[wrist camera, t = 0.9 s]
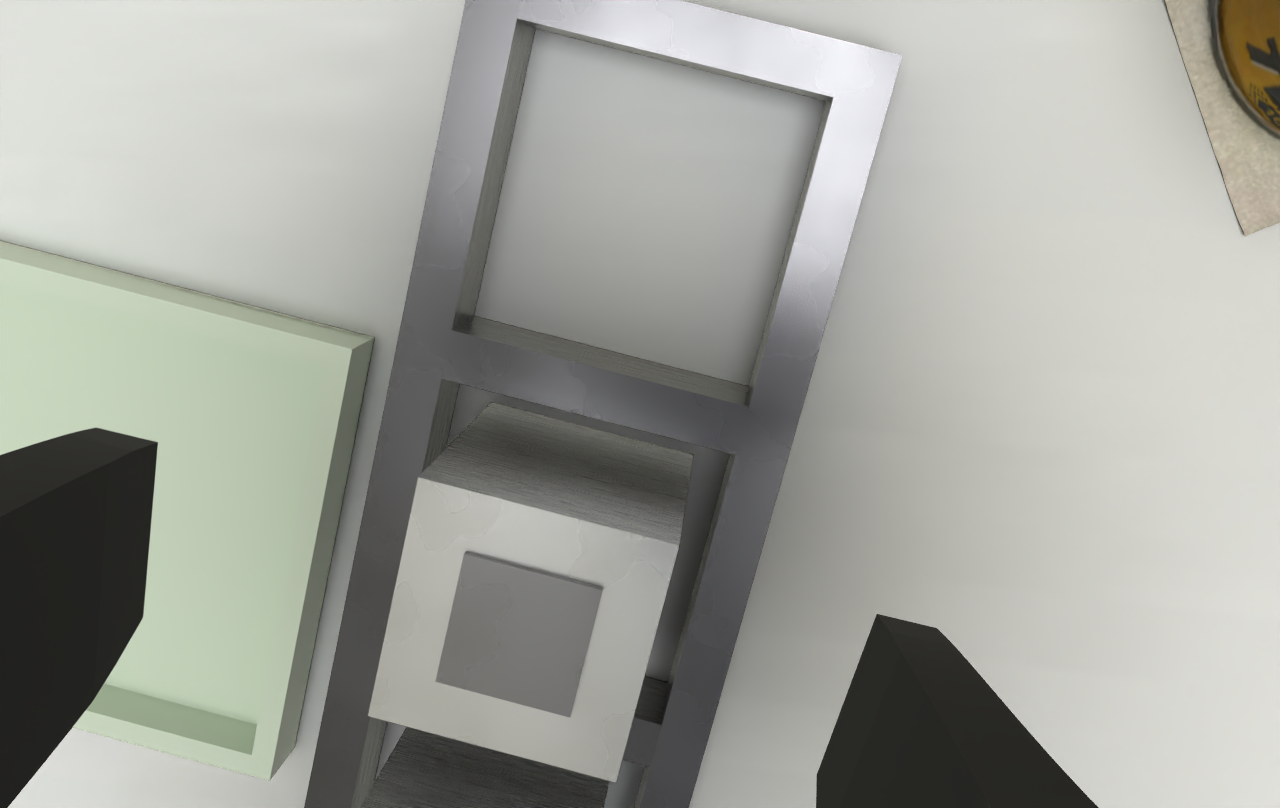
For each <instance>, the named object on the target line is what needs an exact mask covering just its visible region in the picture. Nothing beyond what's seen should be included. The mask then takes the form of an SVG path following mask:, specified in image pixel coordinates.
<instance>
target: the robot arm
mask: <svg viewBox="0 0 1280 808" xmlns="http://www.w3.org/2000/svg"><path fill="white" fill-rule="evenodd" d="M157 448H158V442H155V441H151V440H146V439H142V438H138V437H134V436H130V435H126V434H121V433H117V432H113V431H109V430H105V429H100V428H91V429H87V430H82V431H77V432H74V433H70V434H66V435H63V436H59V437H56V438H52V439H49V440H46V441H43V442H39V443H36V444H33V445H30V446H27V447H24V448H20V449H17V450H14V451H11V452H8V453H5V454H2V455H0V808H7V807H8V806H9V805H10V804H11V803H12V801H13V800H14V799H15V798H16V796H17V795H18V794H19V793H20V792H21V790H22V789H23V788H24V787H25V785H26V784H27V783H28V782H29V780H30V779H31V778H32V777H33V776H34V774H35V773H36V772H37V771H38V769H39V768H40V767H41V766H42V765H43V763H44V762H45V761H46V760H47V758H48V757H49V756H50V755H51V753H52V752H53V751H54V750H55V748H56V747H57V746H58V745H59V743H60V742H61V741H62V740H63V738H64V737H65V736H66V735H67V733H68V732H69V731H70V730H71V728H72V727H73V726H74V725H75V723H76V722H77V721H78V720H79V718H80V717H81V716H82V715H83V713H84V712H85V711H86V709H87V708H88V707H89V706H90V704H91V703H92V702H93V700H94V699H95V697H96V696H97V694H98V692H99V691H100V689H101V688H102V686H103V684H104V683H105V681H106V680H107V678H108V676H109V675H110V673H111V672H112V670H113V668H114V667H115V665H116V663H117V662H118V660H119V658H120V657H121V655H122V653H123V651H124V650H125V648H126V646H127V645H128V643H129V641H130V639H131V638H132V636H133V634H134V633H135V631H136V629H137V627H138V626H139V624H140V622H141V620H142V619H143V614H144V602H145V590H146V578H147V567H148V555H149V543H150V531H151V519H152V507H153V495H154V484H155V472H156V460H157ZM816 808H1098V807H1097V806H1096V805H1095V804H1094V803H1093V802H1092V801H1091V800H1090V799H1089V798H1088V797H1087V795H1086V794H1085V793H1084V792H1083V791H1082V790H1081V789H1080V788H1079V787H1078V786H1077V785H1076V784H1075V783H1074V782H1073V780H1072V779H1071V778H1070V777H1069V776H1068V775H1067V774H1066V773H1065V772H1064V771H1063V770H1062V769H1061V767H1060V766H1059V765H1058V764H1057V763H1056V762H1055V761H1054V760H1053V759H1052V758H1051V756H1050V755H1049V754H1048V753H1047V752H1046V751H1045V750H1044V749H1043V747H1042V746H1041V745H1040V744H1039V743H1038V742H1037V741H1036V740H1035V738H1034V737H1033V736H1032V735H1031V734H1030V733H1029V732H1028V730H1027V729H1026V728H1025V727H1024V726H1023V725H1022V724H1021V722H1020V721H1019V720H1018V719H1017V718H1016V717H1015V715H1014V714H1013V713H1012V712H1011V711H1010V710H1009V709H1008V707H1007V706H1006V705H1005V704H1004V703H1003V702H1002V700H1001V699H1000V698H999V697H998V696H997V695H996V693H995V692H994V691H993V690H992V689H991V688H990V686H989V685H988V684H987V683H986V682H985V680H984V679H983V678H982V677H981V676H980V675H979V674H978V672H977V671H976V670H975V669H974V668H973V667H972V665H971V664H970V663H969V662H968V661H967V660H966V659H965V657H964V656H963V655H962V654H961V653H960V652H959V651H958V650H957V648H956V647H955V646H954V645H953V644H952V643H951V642H950V641H949V640H948V639H947V638H946V637H945V636H944V635H943V634H942V633H941V632H940V631H939V630H938V629H937V628H934V627H929V626H925V625H921V624H917V623H913V622H908V621H904V620H900V619H896V618H892V617H887V616H883V615H879V614H877V615H876V618H875V621H874V623H873V626H872V629H871V631H870V634H869V637H868V639H867V642H866V645H865V647H864V650H863V653H862V655H861V658H860V661H859V663H858V666H857V669H856V671H855V674H854V677H853V679H852V682H851V685H850V687H849V690H848V693H847V696H846V698H845V701H844V704H843V706H842V709H841V712H840V714H839V717H838V720H837V722H836V725H835V728H834V730H833V733H832V736H831V738H830V741H829V744H828V746H827V749H826V752H825V754H824V757H823V760H822V762H821V765H820V768H819V770H818V773H817V797H816Z"/></svg>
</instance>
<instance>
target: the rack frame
mask: <svg viewBox="0 0 1280 808" xmlns="http://www.w3.org/2000/svg"><path fill="white" fill-rule="evenodd" d="M535 28H536V29H540V30H544V31H548V32H552V33H556V34H560V35H564V36H568V37H572V38H576V39H580V40H584V41H588V42H592V43H596V44H600V45H604V46H608V47H612V48H616V49H620V50H624V51H628V52H632V53H636V54H640V55H644V56H648V57H652V58H656V59H660V60H664V61H668V62H672V63H676V64H680V65H684V66H688V67H692V68H696V69H700V70H704V71H708V72H712V73H716V74H720V75H724V76H728V77H732V78H736V79H740V80H744V81H748V82H752V83H756V84H760V85H764V86H768V87H772V88H776V89H780V90H784V91H788V92H792V93H796V94H800V95H804V96H808V97H812V98H816V99H820V100H824V101H826V103H825V107H824V111H823V114H822V118H821V122H820V125H819V129H818V133H817V136H816V140H815V144H814V147H813V151H812V155H811V159H810V162H809V166H808V170H807V173H806V177H805V181H804V184H803V188H802V192H801V195H800V199H799V203H798V206H797V210H796V214H795V217H794V221H793V225H792V228H791V232H790V236H789V239H788V243H787V247H786V250H785V254H784V258H783V261H782V265H781V269H780V272H779V276H778V280H777V283H776V287H775V291H774V294H773V298H772V302H771V305H770V309H769V313H768V316H767V320H766V324H765V327H764V331H763V335H762V339H761V342H760V346H759V350H758V353H757V357H756V361H755V364H754V368H753V372H752V375H751V379H750V383H749V386H745V385H741V384H737V383H733V382H729V381H725V380H721V379H717V378H713V377H710V376H706V375H702V374H698V373H694V372H690V371H686V370H682V369H679V368H675V367H671V366H667V365H663V364H659V363H655V362H651V361H647V360H644V359H640V358H636V357H632V356H628V355H624V354H620V353H616V352H612V351H609V350H605V349H601V348H597V347H593V346H589V345H585V344H581V343H578V342H574V341H570V340H566V339H562V338H558V337H554V336H550V335H546V334H543V333H539V332H535V331H531V330H527V329H523V328H519V327H515V326H511V325H508V324H504V323H500V322H496V321H492V320H488V319H484V318H480V317H476V316H474V313H475V309H476V304H477V299H478V295H479V290H480V285H481V281H482V276H483V271H484V267H485V262H486V257H487V252H488V248H489V243H490V238H491V234H492V229H493V224H494V220H495V215H496V210H497V206H498V201H499V196H500V192H501V187H502V182H503V178H504V173H505V168H506V164H507V159H508V154H509V150H510V145H511V140H512V136H513V131H514V126H515V122H516V117H517V112H518V108H519V103H520V98H521V94H522V89H523V84H524V80H525V75H526V70H527V66H528V61H529V56H530V52H531V47H532V42H533V38H534V33H535ZM901 59H902V55H900V54H896V53H892V52H887V51H883V50H879V49H875V48H871V47H867V46H863V45H859V44H855V43H851V42H847V41H843V40H839V39H835V38H831V37H827V36H823V35H819V34H815V33H811V32H807V31H803V30H799V29H795V28H791V27H787V26H783V25H779V24H775V23H771V22H767V21H763V20H759V19H755V18H750V17H746V16H742V15H738V14H734V13H730V12H726V11H722V10H718V9H714V8H710V7H706V6H702V5H698V4H694V3H690V2H686V1H682V0H466V2H465V7H464V12H463V17H462V22H461V27H460V32H459V37H458V42H457V47H456V52H455V57H454V62H453V67H452V72H451V77H450V82H449V87H448V92H447V97H446V102H445V107H444V112H443V117H442V122H441V127H440V132H439V137H438V142H437V147H436V152H435V157H434V162H433V167H432V172H431V177H430V182H429V187H428V192H427V197H426V202H425V207H424V212H423V217H422V222H421V227H420V232H419V237H418V242H417V247H416V252H415V257H414V262H413V267H412V272H411V277H410V282H409V287H408V292H407V297H406V302H405V307H404V312H403V317H402V322H401V327H400V332H399V337H398V342H397V347H396V352H395V357H394V362H393V367H392V372H391V377H390V382H389V387H388V392H387V397H386V402H385V407H384V412H383V417H382V422H381V427H380V432H379V437H378V442H377V447H376V452H375V457H374V462H373V467H372V472H371V477H370V482H369V487H368V492H367V497H366V502H365V507H364V512H363V517H362V522H361V527H360V532H359V537H358V542H357V547H356V552H355V557H354V562H353V567H352V572H351V577H350V582H349V587H348V592H347V597H346V602H345V607H344V612H343V617H342V622H341V627H340V632H339V637H338V642H337V647H336V652H335V657H334V662H333V667H332V672H331V677H330V682H329V687H328V692H327V697H326V702H325V707H324V712H323V717H322V722H321V727H320V732H319V737H318V742H317V747H316V752H315V757H314V762H313V767H312V772H311V777H310V782H309V787H308V792H307V797H306V802H305V807H304V808H360V807H361V805H362V804H363V802H364V800H365V798H366V797H367V795H368V793H369V791H370V790H371V788H372V786H373V785H374V780H375V776H376V771H377V766H378V762H379V757H380V752H381V748H382V743H383V738H384V734H385V729H386V724H387V721H385V720H381V719H377V718H373V717H370V716H368V713H369V709H370V704H371V699H372V694H373V690H374V685H375V680H376V675H377V671H378V666H379V661H380V656H381V652H382V647H383V642H384V637H385V633H386V628H387V623H388V618H389V614H390V609H391V604H392V599H393V595H394V590H395V585H396V580H397V576H398V571H399V566H400V561H401V557H402V552H403V547H404V542H405V538H406V533H407V528H408V523H409V519H410V514H411V509H412V504H413V500H414V495H415V490H416V485H417V481H418V477H419V476H420V475H421V474H422V473H423V472H424V471H425V470H426V469H427V468H428V467H429V466H430V465H431V464H432V463H433V462H434V461H435V459H436V458H437V457H438V456H439V455H440V454H441V453H442V452H443V451H444V450H445V449H446V444H447V439H448V435H449V430H450V425H451V421H452V416H453V411H454V407H455V402H456V397H457V393H458V388H459V383H460V384H464V385H467V386H471V387H475V388H479V389H483V390H487V391H491V392H495V393H498V394H502V395H506V396H510V397H514V398H518V399H522V400H525V401H529V402H533V403H537V404H541V405H545V406H549V407H552V408H556V409H560V410H564V411H568V412H572V413H576V414H579V415H583V416H587V417H591V418H595V419H599V420H603V421H606V422H610V423H614V424H618V425H622V426H626V427H630V428H633V429H637V430H641V431H645V432H649V433H653V434H657V435H660V436H664V437H668V438H672V439H676V440H680V441H684V442H687V443H691V444H695V445H699V446H703V447H707V448H711V449H714V450H718V451H722V452H726V453H730V456H729V460H728V463H727V467H726V471H725V474H724V478H723V482H722V485H721V489H720V493H719V496H718V500H717V504H716V507H715V511H714V515H713V519H712V522H711V526H710V530H709V533H708V537H707V541H706V544H705V548H704V552H703V555H702V559H701V563H700V566H699V570H698V574H697V577H696V581H695V585H694V588H693V592H692V596H691V599H690V603H689V607H688V610H687V614H686V618H685V621H684V625H683V629H682V632H681V636H680V640H679V643H678V647H677V651H676V654H675V658H674V662H673V665H672V669H671V673H670V676H669V680H668V683H667V682H663V681H659V680H656V679H652V678H648V677H644V680H643V683H642V687H641V691H640V695H639V698H638V702H637V706H636V710H635V713H634V717H633V721H632V724H631V728H630V732H629V736H628V739H627V743H626V747H625V751H624V754H623V758H622V760H625V761H629V762H632V763H636V764H640V765H644V766H645V768H644V772H643V776H642V779H641V783H640V787H639V790H638V794H637V798H636V801H635V805H634V808H689V805H690V801H691V798H692V794H693V791H694V787H695V784H696V780H697V777H698V773H699V769H700V766H701V762H702V759H703V755H704V752H705V748H706V745H707V741H708V738H709V734H710V731H711V727H712V724H713V720H714V717H715V713H716V710H717V706H718V703H719V699H720V696H721V692H722V689H723V685H724V682H725V678H726V675H727V671H728V667H729V664H730V660H731V657H732V653H733V650H734V646H735V643H736V639H737V636H738V632H739V629H740V625H741V622H742V618H743V615H744V611H745V608H746V604H747V601H748V597H749V594H750V590H751V587H752V583H753V580H754V576H755V572H756V569H757V565H758V562H759V558H760V555H761V551H762V548H763V544H764V541H765V537H766V534H767V530H768V527H769V523H770V520H771V516H772V513H773V509H774V506H775V502H776V499H777V495H778V492H779V488H780V485H781V481H782V478H783V474H784V470H785V467H786V463H787V460H788V456H789V453H790V449H791V446H792V442H793V439H794V435H795V432H796V428H797V425H798V421H799V418H800V414H801V411H802V407H803V404H804V400H805V397H806V393H807V390H808V386H809V383H810V379H811V375H812V372H813V368H814V365H815V361H816V358H817V354H818V351H819V347H820V344H821V340H822V337H823V333H824V330H825V326H826V323H827V319H828V316H829V312H830V309H831V305H832V302H833V298H834V295H835V291H836V288H837V284H838V281H839V277H840V273H841V270H842V266H843V263H844V259H845V256H846V252H847V249H848V245H849V242H850V238H851V235H852V231H853V228H854V224H855V221H856V217H857V214H858V210H859V207H860V203H861V200H862V196H863V193H864V189H865V186H866V182H867V178H868V175H869V171H870V168H871V164H872V161H873V157H874V154H875V150H876V147H877V143H878V140H879V136H880V133H881V129H882V126H883V122H884V119H885V115H886V112H887V108H888V105H889V101H890V98H891V94H892V91H893V87H894V83H895V80H896V76H897V73H898V69H899V66H900V62H901Z"/></svg>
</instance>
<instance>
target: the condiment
mask: <svg viewBox="0 0 1280 808" xmlns="http://www.w3.org/2000/svg"><path fill="white" fill-rule="evenodd" d="M1165 2H1166V6H1167V9H1168V13H1169V16H1170V19H1171V22H1172V26H1173V30H1174V32H1175V35H1176V39H1177V42H1178V45H1179V48H1180V52H1181V54H1182V58H1183V60H1184V64H1185V67H1186V69H1187V72H1188V75H1189V78H1190V81H1191V84H1192V86H1193V89H1194V92H1195V95H1196V98H1197V101H1198V104H1199V108H1200V111H1201V114H1202V116H1203V119H1204V122H1205V125H1206V128H1207V131H1208V135H1209V138H1210V141H1211V144H1212V147H1213V150H1214V153H1215V155H1216V158H1217V160H1218V163H1219V165H1220V168H1221V171H1222V174H1223V178H1224V182H1225V185H1226V188H1227V190H1228V193H1229V197H1230V199H1231V202H1232V204H1233V207H1234V210H1235V213H1236V216H1237V218H1238V221H1239V223H1240V225H1241V227H1242V229H1243V231H1244V234H1245V236H1247V235H1250V234H1252V233H1254V232H1257V231H1259V230H1262V229H1264V228H1266V227H1269V226H1272V225H1275V224H1277V223H1279V222H1280V0H1165Z"/></svg>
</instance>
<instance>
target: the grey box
mask: <svg viewBox="0 0 1280 808" xmlns="http://www.w3.org/2000/svg"><path fill="white" fill-rule="evenodd" d="M692 461H693V454H689V453H685V452H681V451H677V450H674V449H670V448H666V447H662V446H658V445H654V444H651V443H647V442H643V441H639V440H635V439H631V438H627V437H624V436H620V435H616V434H612V433H608V432H604V431H601V430H597V429H593V428H589V427H585V426H581V425H577V424H574V423H570V422H566V421H562V420H558V419H554V418H551V417H547V416H543V415H539V414H535V413H531V412H527V411H524V410H520V409H516V408H512V407H508V406H504V405H501V404H497V403H493V402H491V403H490V404H489V405H488V406H487V407H486V408H485V409H484V410H483V411H482V412H481V413H480V414H479V415H478V416H477V417H476V418H475V419H474V420H473V421H472V422H471V424H470V425H469V426H468V427H467V428H466V429H465V430H464V431H463V432H462V433H461V434H460V435H459V436H458V437H457V438H456V439H455V440H454V441H453V442H452V443H451V444H450V445H449V446H448V447H447V448H446V449H445V450H444V451H443V452H442V453H441V454H440V455H439V456H438V457H437V458H436V459H435V461H434V462H433V463H432V464H431V465H430V466H429V467H428V468H427V469H426V470H425V471H424V472H423V473H422V474H421V475H420V476H419V477H418V481H417V485H416V490H415V495H414V500H413V504H412V509H411V514H410V519H409V523H408V528H407V533H406V538H405V542H404V547H403V552H402V557H401V561H400V566H399V571H398V576H397V580H396V585H395V590H394V595H393V599H392V604H391V609H390V614H389V618H388V623H387V628H386V633H385V637H384V642H383V647H382V652H381V656H380V661H379V666H378V671H377V675H376V680H375V685H374V690H373V694H372V699H371V704H370V709H369V713H368V716H370V717H373V718H377V719H381V720H385V721H388V722H392V723H396V724H400V725H403V726H407V727H411V728H414V729H418V730H422V731H426V732H429V733H433V734H437V735H441V736H444V737H448V738H452V739H455V740H459V741H463V742H467V743H470V744H474V745H478V746H482V747H485V748H489V749H493V750H496V751H500V752H504V753H508V754H511V755H515V756H519V757H523V758H526V759H530V760H534V761H537V762H541V763H545V764H549V765H552V766H556V767H560V768H564V769H567V770H571V771H575V772H578V773H582V774H586V775H590V776H593V777H597V778H601V779H605V780H608V781H612V782H616V781H617V777H618V773H619V769H620V766H621V762H622V758H623V754H624V751H625V747H626V743H627V739H628V736H629V732H630V728H631V724H632V721H633V717H634V713H635V710H636V706H637V702H638V698H639V695H640V691H641V687H642V683H643V680H644V676H645V672H646V668H647V665H648V661H649V657H650V653H651V650H652V646H653V642H654V638H655V635H656V631H657V627H658V624H659V620H660V616H661V612H662V609H663V605H664V601H665V597H666V594H667V590H668V586H669V582H670V579H671V575H672V571H673V567H674V564H675V560H676V556H677V552H678V549H679V544H680V538H681V532H682V525H683V519H684V512H685V506H686V500H687V493H688V487H689V480H690V474H691V467H692Z"/></svg>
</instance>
